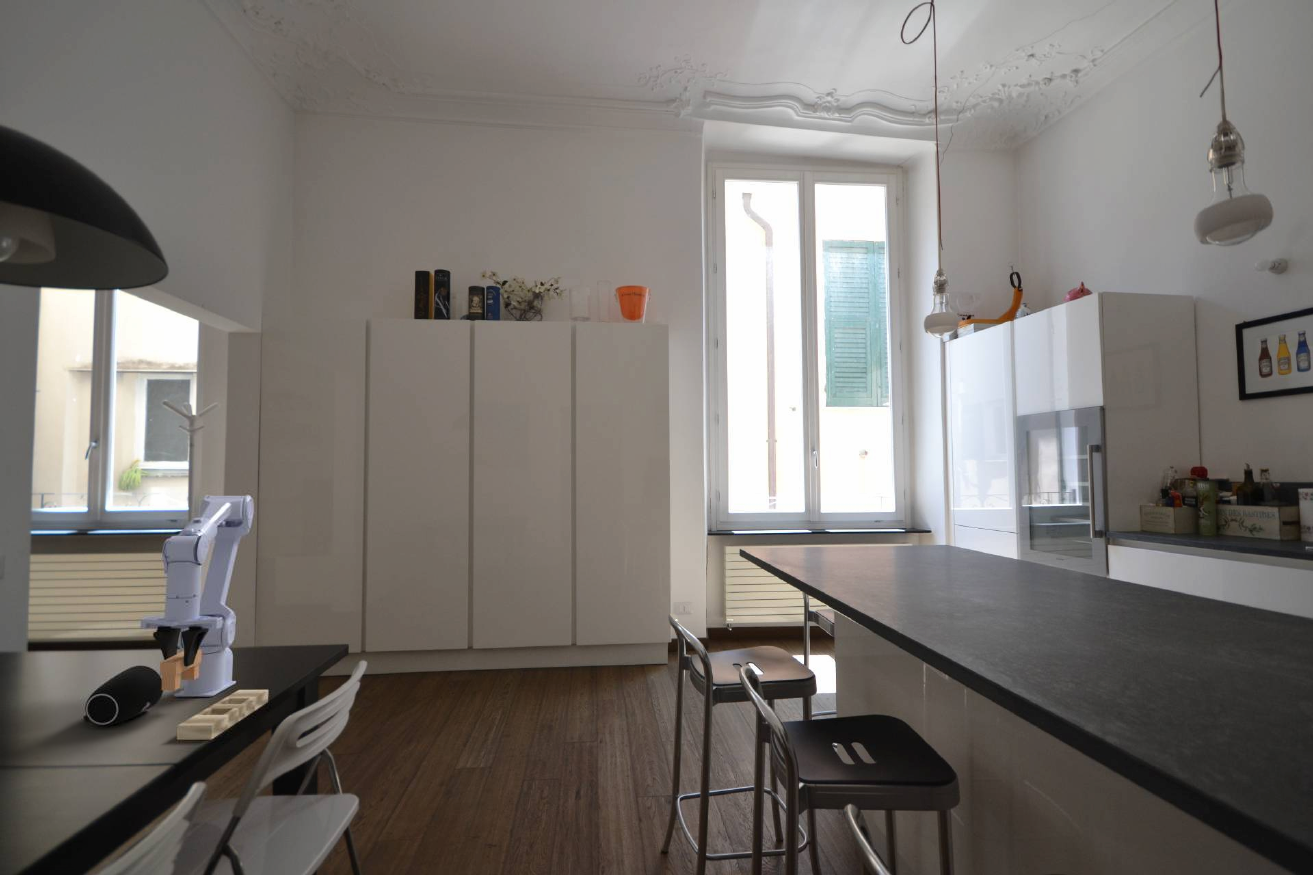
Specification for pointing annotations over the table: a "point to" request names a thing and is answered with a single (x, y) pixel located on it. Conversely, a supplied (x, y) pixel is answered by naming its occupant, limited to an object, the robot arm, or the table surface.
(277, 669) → the table surface
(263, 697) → the rail
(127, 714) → the black cylindrical speaker
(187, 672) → the clip
